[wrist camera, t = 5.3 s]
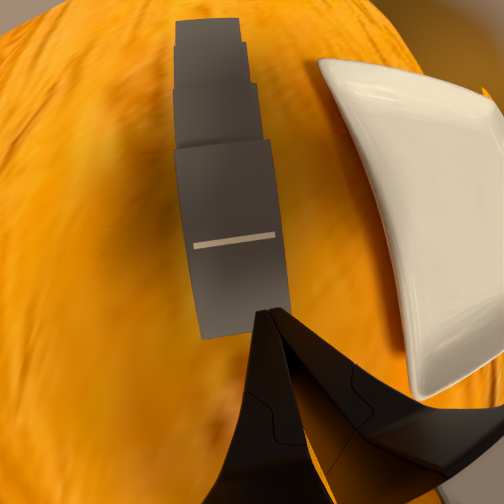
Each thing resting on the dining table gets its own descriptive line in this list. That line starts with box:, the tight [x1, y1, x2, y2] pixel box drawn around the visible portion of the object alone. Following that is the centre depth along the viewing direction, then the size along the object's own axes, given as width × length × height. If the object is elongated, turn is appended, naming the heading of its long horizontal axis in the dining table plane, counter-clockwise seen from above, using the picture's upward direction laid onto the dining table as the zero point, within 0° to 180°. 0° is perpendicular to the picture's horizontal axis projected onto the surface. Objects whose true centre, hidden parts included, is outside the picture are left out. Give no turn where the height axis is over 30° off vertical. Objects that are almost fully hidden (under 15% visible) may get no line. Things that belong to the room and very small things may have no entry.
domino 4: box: [174, 140, 291, 340], centre depth 16 cm, size 2×5×10 cm
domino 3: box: [173, 83, 263, 150], centre depth 17 cm, size 2×5×10 cm
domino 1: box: [175, 18, 241, 46], centre depth 19 cm, size 2×5×10 cm
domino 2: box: [174, 42, 251, 89], centre depth 18 cm, size 2×5×10 cm
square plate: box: [317, 58, 504, 401], centre depth 21 cm, size 27×27×4 cm
